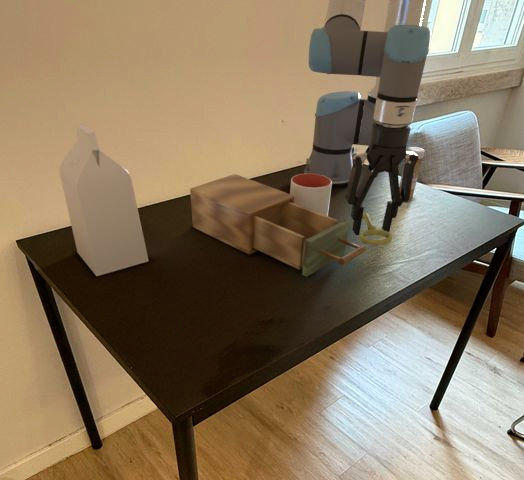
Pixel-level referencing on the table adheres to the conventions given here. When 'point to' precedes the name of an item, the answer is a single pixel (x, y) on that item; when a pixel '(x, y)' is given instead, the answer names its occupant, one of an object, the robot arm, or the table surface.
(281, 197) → the cabinet
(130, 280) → the table surface
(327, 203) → the cup
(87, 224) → the milk
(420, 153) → the sprinkles bottle
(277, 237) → the drawer
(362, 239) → the key
